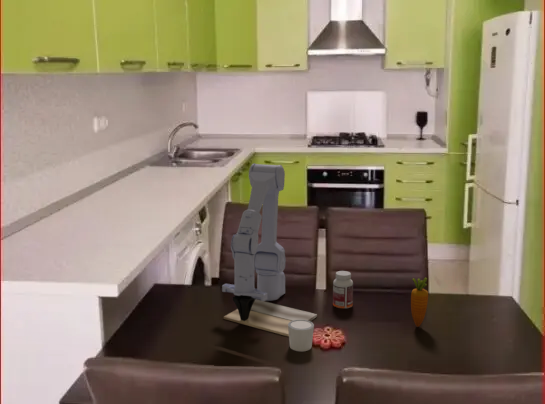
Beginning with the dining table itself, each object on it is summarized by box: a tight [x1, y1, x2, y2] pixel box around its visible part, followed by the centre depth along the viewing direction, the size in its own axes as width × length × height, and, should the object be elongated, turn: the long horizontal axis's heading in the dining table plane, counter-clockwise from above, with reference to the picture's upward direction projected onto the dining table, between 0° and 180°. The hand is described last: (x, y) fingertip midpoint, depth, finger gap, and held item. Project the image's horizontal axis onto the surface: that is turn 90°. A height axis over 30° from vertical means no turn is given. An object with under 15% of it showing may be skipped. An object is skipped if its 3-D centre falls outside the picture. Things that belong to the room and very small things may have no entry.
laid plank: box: [250, 299, 318, 322], centre depth 183 cm, size 8×22×2 cm, turn 57°
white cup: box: [288, 320, 315, 352], centre depth 160 cm, size 7×7×7 cm
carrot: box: [410, 277, 429, 328], centre depth 174 cm, size 5×5×15 cm
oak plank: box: [223, 308, 291, 337], centre depth 176 cm, size 8×22×2 cm, turn 57°
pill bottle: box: [332, 270, 354, 309], centre depth 189 cm, size 6×6×11 cm
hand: (244, 319), depth 177 cm, fingers closed, pressing on oak plank
